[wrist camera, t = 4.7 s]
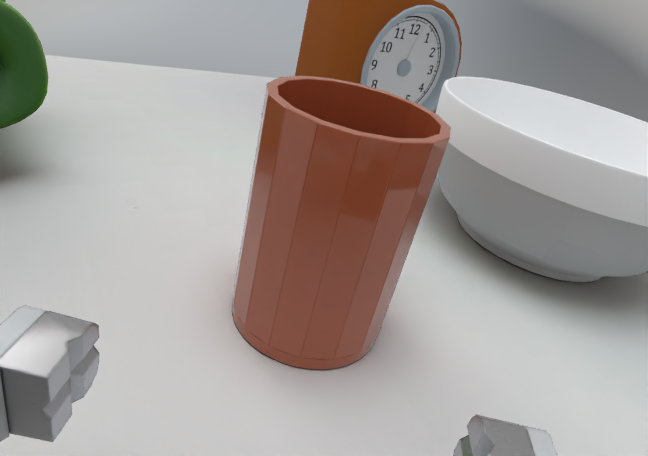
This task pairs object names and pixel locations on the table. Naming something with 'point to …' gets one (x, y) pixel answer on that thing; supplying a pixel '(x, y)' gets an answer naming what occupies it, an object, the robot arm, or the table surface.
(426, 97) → the alarm clock
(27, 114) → the piggy bank
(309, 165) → the cup
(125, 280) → the table surface
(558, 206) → the bowl
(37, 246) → the table surface
